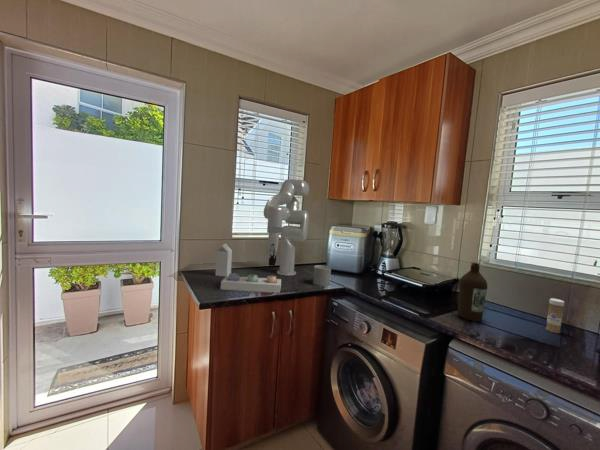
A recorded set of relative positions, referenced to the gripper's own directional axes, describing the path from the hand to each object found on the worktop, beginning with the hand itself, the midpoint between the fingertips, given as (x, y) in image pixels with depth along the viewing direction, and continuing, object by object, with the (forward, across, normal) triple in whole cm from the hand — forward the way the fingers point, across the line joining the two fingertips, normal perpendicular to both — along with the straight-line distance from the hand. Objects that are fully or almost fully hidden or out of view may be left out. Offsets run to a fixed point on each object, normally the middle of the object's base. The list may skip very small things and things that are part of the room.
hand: (272, 263), depth 148 cm
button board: (+14, 0, -10) cm, 17 cm away
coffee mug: (+14, -18, +29) cm, 37 cm away
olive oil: (+14, +24, +92) cm, 96 cm away
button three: (+11, 0, -10) cm, 15 cm away
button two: (+11, 0, -20) cm, 23 cm away
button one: (+11, 0, 0) cm, 11 cm away
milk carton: (+14, -22, -31) cm, 40 cm away
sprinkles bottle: (+14, +34, +121) cm, 126 cm away
